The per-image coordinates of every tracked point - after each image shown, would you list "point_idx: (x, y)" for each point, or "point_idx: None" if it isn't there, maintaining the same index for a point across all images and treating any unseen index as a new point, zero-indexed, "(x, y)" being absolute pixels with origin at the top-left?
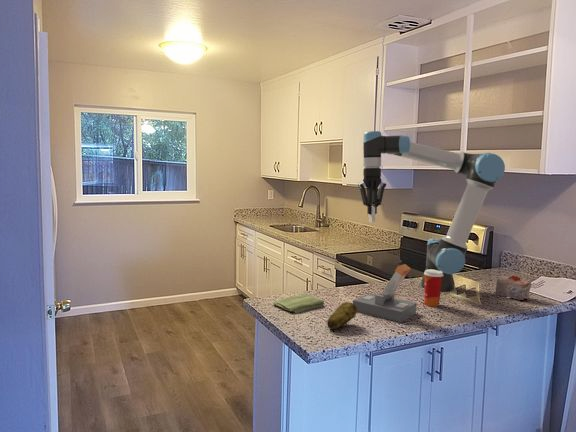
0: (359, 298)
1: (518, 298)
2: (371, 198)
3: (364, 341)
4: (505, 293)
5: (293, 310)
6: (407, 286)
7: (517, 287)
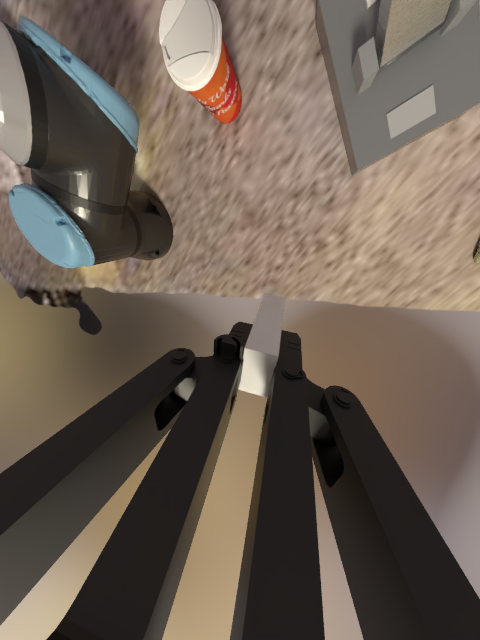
0: (441, 117)
1: None
2: (278, 456)
3: None
4: None
5: None
6: (195, 254)
7: None
